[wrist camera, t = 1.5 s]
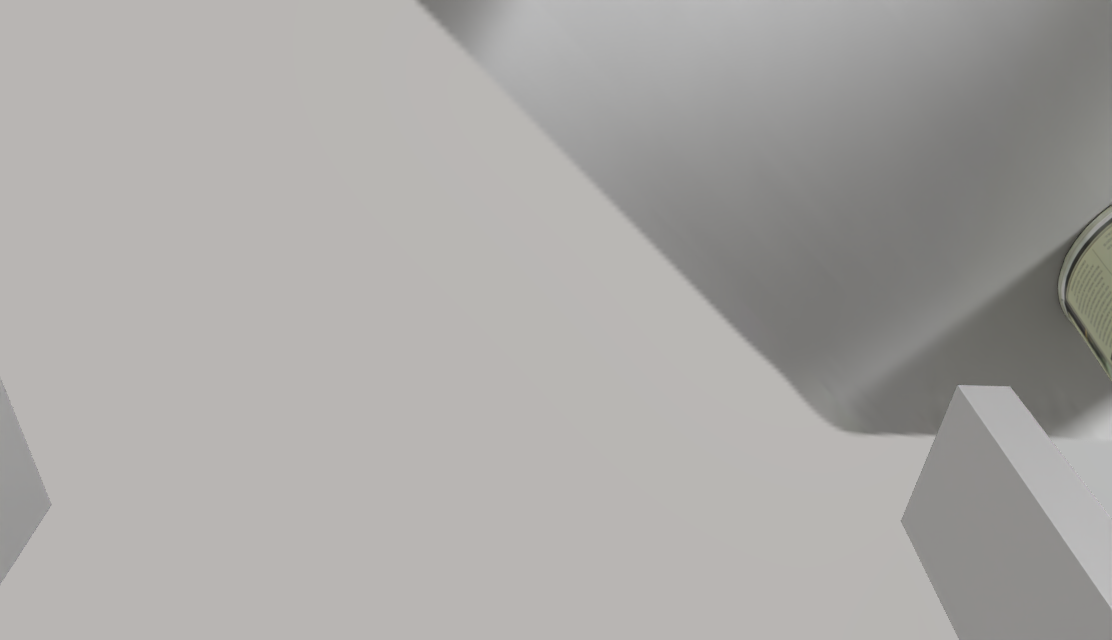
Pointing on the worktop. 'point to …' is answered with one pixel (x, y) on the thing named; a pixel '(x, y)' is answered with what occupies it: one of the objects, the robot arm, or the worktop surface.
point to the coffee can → (1091, 287)
